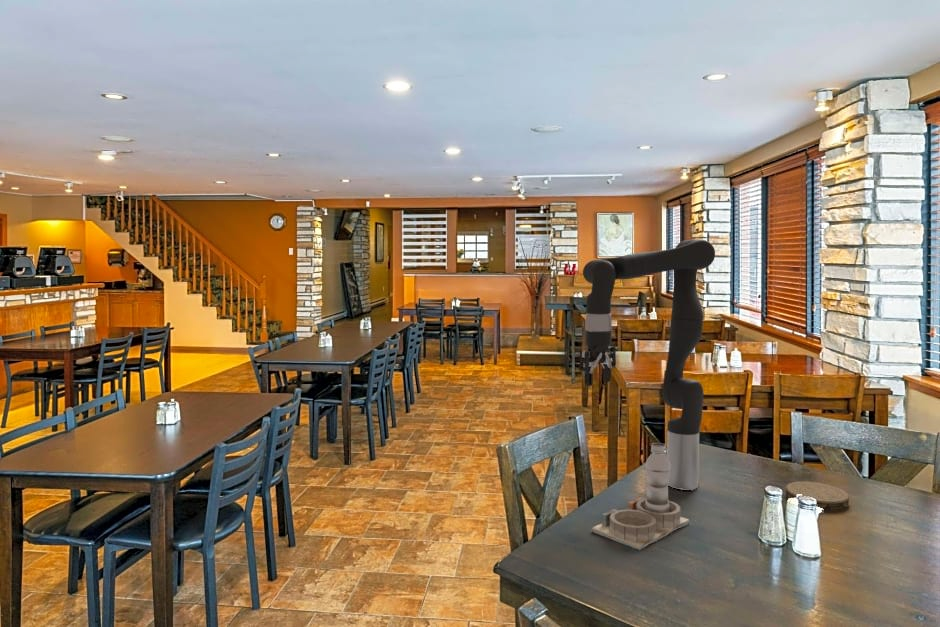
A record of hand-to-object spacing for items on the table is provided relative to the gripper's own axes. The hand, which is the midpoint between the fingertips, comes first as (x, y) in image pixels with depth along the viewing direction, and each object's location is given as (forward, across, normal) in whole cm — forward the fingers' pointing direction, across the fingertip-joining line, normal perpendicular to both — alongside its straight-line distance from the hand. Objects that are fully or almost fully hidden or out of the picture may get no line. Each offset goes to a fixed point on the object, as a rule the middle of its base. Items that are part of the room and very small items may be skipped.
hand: (597, 383), depth 188 cm
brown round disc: (+34, -42, +46) cm, 71 cm away
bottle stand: (+33, +12, +23) cm, 42 cm away
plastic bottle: (+32, +6, +24) cm, 41 cm away
